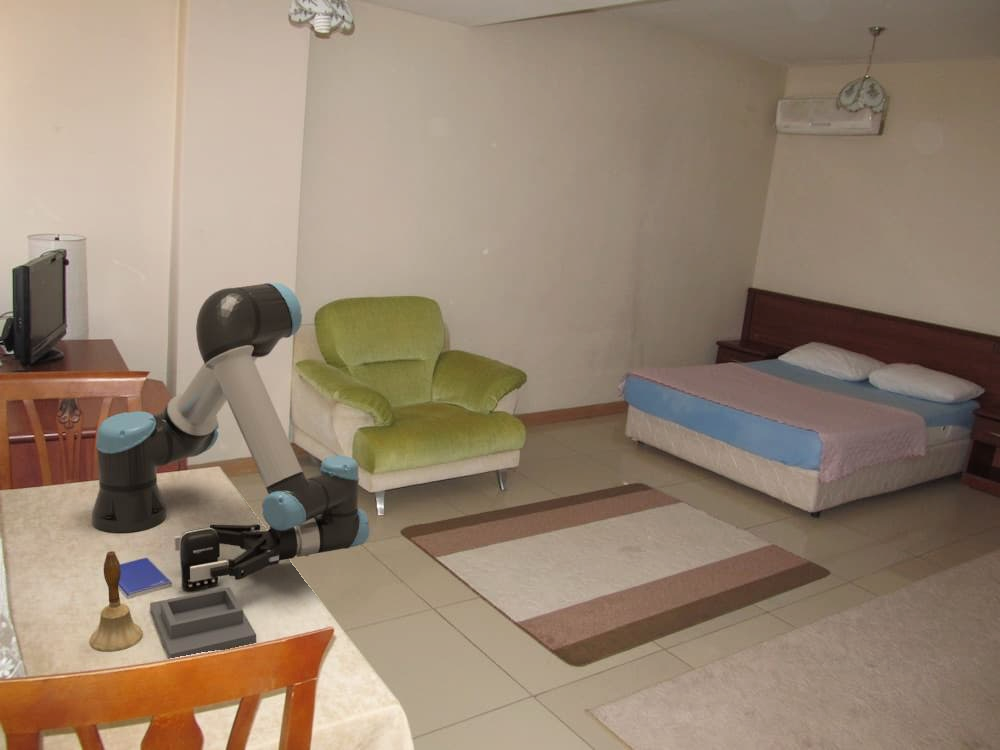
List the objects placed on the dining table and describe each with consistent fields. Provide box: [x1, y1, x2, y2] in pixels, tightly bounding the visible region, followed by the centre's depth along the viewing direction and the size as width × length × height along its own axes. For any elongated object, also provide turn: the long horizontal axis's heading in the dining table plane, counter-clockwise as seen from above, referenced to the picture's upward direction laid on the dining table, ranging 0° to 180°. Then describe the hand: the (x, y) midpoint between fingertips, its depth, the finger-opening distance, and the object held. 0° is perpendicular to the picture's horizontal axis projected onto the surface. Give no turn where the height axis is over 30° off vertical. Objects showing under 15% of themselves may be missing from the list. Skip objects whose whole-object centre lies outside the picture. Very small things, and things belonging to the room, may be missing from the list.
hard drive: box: [118, 557, 173, 600], centre depth 164 cm, size 2×8×12 cm
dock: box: [149, 586, 257, 659], centre depth 149 cm, size 18×14×4 cm
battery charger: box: [179, 527, 221, 592], centre depth 161 cm, size 7×4×11 cm, turn 124°
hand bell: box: [89, 551, 144, 652], centre depth 142 cm, size 8×8×16 cm
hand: (182, 558), depth 159 cm, fingers open, 13 cm apart
